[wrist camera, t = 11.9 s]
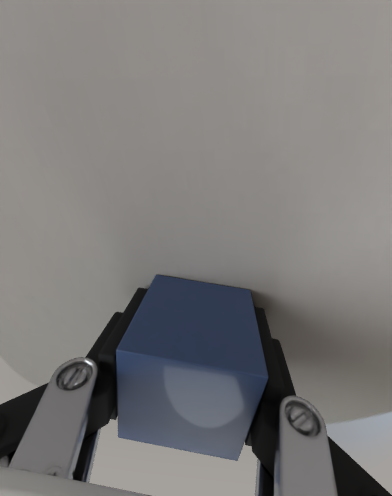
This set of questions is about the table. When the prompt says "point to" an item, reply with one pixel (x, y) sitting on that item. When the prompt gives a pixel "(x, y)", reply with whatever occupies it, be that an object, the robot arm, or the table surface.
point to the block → (191, 368)
